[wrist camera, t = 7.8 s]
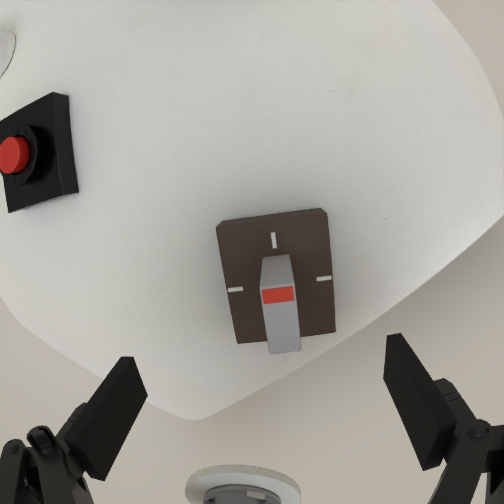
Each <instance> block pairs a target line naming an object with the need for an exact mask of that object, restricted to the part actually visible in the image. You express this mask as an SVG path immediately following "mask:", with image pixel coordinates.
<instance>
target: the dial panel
mask: <svg viewBox="0 0 504 504" xmlns="http://www.w3.org/2000/svg"><path fill="white" fill-rule="evenodd" d="M216 233H217V238H218V244H219V250H220V255H221V261H222V266H223V272H224V277H225V283H226V288H227V293H228V299H229V304H230V309H231V314H232V319H233V325H234V330H235V335H236V340H237V344H240V343H252V342H262V341H267V334H266V328H265V321H264V315H263V308H262V301H261V295H260V279H261V270H262V261H263V257H270V256H278V255H285V254H289V256H290V261H291V267H292V272H293V278H294V283H295V292H296V301H297V310H298V320H299V330H300V337H306V336H313V335H320V334H327V333H334V332H336V327H335V306H334V289H333V274H332V261H331V249H330V238H329V228H328V218H327V213H326V212H325V211H324V210H323V209H321V208H318V209H309V210H301V211H293V212H286V213H278V214H270V215H263V216H256V217H248V218H241V219H234V220H227V221H222V222H221V223H220V224H219V225H218V226H217V227H216Z"/></svg>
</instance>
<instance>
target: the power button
mask: <svg viewBox="0 0 504 504" xmlns="http://www.w3.org/2000/svg"><path fill="white" fill-rule="evenodd" d="M28 159H29V145H28V143H27V141H26V140H25V139H24V138H22V137H8V138H7V139H5V140H4V141H3V143H2V144H1V146H0V169H1V170H2V171H3V172H4V173H6V174H9V173H18V172H21V171H22V170H23V169H24V168H25V167H26V165H27V162H28Z"/></svg>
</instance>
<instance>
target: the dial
mask: <svg viewBox="0 0 504 504" xmlns="http://www.w3.org/2000/svg"><path fill="white" fill-rule="evenodd" d="M260 295H261V301H262V308H263V315H264V321H265V328H266V334H267V341H268V348H269V354H278V353H287V352H295V351H301V340H300V330H299V320H298V310H297V301H296V292H295V283H294V278H293V272H292V267H291V261H290V256H289V254H285V255H278V256H270V257H263V261H262V270H261V279H260Z"/></svg>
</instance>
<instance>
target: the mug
mask: <svg viewBox="0 0 504 504" xmlns="http://www.w3.org/2000/svg"><path fill="white" fill-rule="evenodd" d="M14 49H15V36H14V34H13V33H12V32H10V31H3V30H0V76H1V75H2V74H3V72H4V71H5V70H6V68H7V66H8V64H9V63H10V60H11V58H12V56H13V53H14Z"/></svg>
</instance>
